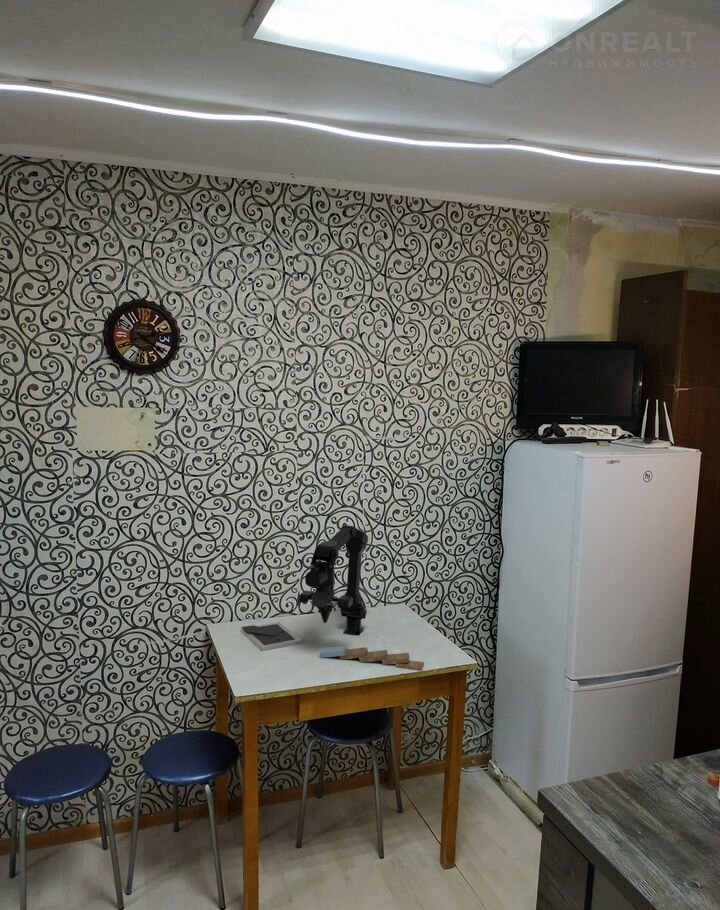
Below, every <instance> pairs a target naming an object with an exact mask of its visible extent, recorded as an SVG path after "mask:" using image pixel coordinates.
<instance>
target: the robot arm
mask: <svg viewBox="0 0 720 910" xmlns="http://www.w3.org/2000/svg"><path fill="white" fill-rule="evenodd" d="M368 541H369V536H368V535H367V533H366V532H365V531H363V530H360V529H359V528H357V527H356V526H354V525H348V524H347V525H346V524H344V525H342V526H341V528H340V529H339V531H337V532H336V534H334V536H332V537H331V538H330V539H329V540H326V541H323V542H320V543H319V544H318V545H317V546H316V547H315V549H314V552H313V555H312V559H311V561H310V566H312V567H310V571H308V572H306V574H305V576H304V581H305V583H306V585H307V586H308V587H310V588H312V589H314V588H315V591H311V590H303V591H302V592H301V593H299V595H298V603H301V604H302V603H303V604H307V603H308V602H309V601H311V603H312V607H316V608H317V609H318V611H319V613H320V616H321V619H322V622H323V623H324V624H326V623H327V622H328V620H329V617H330V615H331V613H332V610H333V609H334V608H335V607H336V606H338V608H340V614H341V617H346V618H345V619H346V621H345V622H346V624H345V625H346V627H345V629H344V630H343V632H342V633H343V634H348V635H353V634H354V635H355V636H360V635H361V634H360V633H362V632H363V631H364V630H365V629H364V628H363V627H362V620H364V619H366V618H367V608H366V607H365V606H364V598H363V597H362V594H361V593H360V584H361V583H360V582H361V569H362V568H361V567H362V566H361V565H362V556H363V553H364V552H365V550H366V549H367V545H368ZM344 546H345V549H346V551H347V552H348V566H347V580H346V592H345V593H344V594H343V595H341V596H339V597H336V596H335V595H336V593H335V584H336V580H335V566H336V565H337V559H338V557H339V555H340V554H339V551H340V550H341V549H343V547H344Z"/></svg>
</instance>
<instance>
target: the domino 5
mask: <svg viewBox="0 0 720 910" xmlns="http://www.w3.org/2000/svg"><path fill="white" fill-rule="evenodd" d="M424 666H425V662H424V661H419V660H417V661H415V660H410V659H409V662H408V663H398V664H395V668H397V669H405V670H411V671H412V670H413V671H419V672H422V671H423V668H424Z"/></svg>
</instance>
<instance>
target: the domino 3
mask: <svg viewBox="0 0 720 910" xmlns="http://www.w3.org/2000/svg"><path fill="white" fill-rule="evenodd" d="M387 655H388V651H387V649H382V650H374V651H368V652H367V654H366V656H365V657H361V658H358V659H359V663H367V662H370V663H371V662H379V661H382V660H385V659H386V657H387Z"/></svg>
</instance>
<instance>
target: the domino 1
mask: <svg viewBox="0 0 720 910" xmlns="http://www.w3.org/2000/svg"><path fill="white" fill-rule="evenodd" d="M348 649H349V648H348V645H343V646H341V645H340V646H332V647H331V646H330V647H324V648H322V649H321V650H320V652H319V653H318V654H319V658H320V659H322V658H331V657H332V658H333V657H340V656H344V655H345V654H346V652H347V651H348Z"/></svg>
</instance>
